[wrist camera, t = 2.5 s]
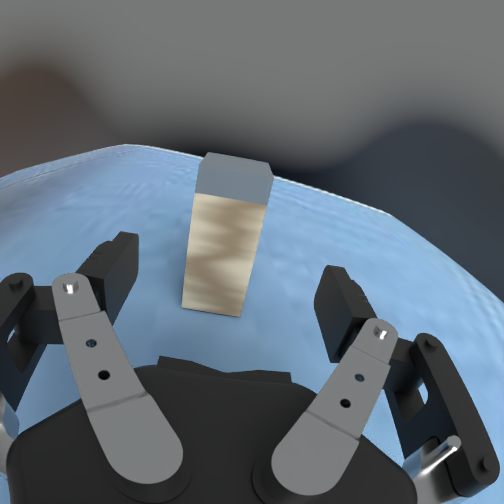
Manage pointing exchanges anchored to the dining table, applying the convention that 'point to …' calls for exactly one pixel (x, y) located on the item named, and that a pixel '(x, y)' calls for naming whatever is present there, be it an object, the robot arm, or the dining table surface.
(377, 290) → the dining table surface
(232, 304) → the maple block
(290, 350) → the dining table surface
